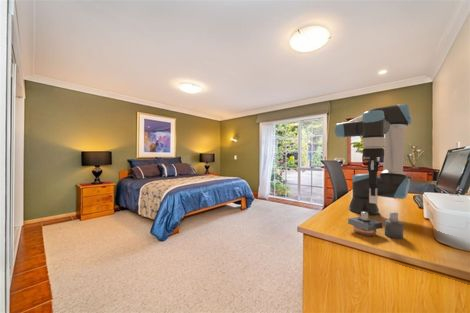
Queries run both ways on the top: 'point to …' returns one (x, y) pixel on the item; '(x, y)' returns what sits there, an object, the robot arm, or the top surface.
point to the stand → (394, 227)
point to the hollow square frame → (365, 223)
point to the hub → (361, 231)
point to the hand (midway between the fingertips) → (373, 202)
